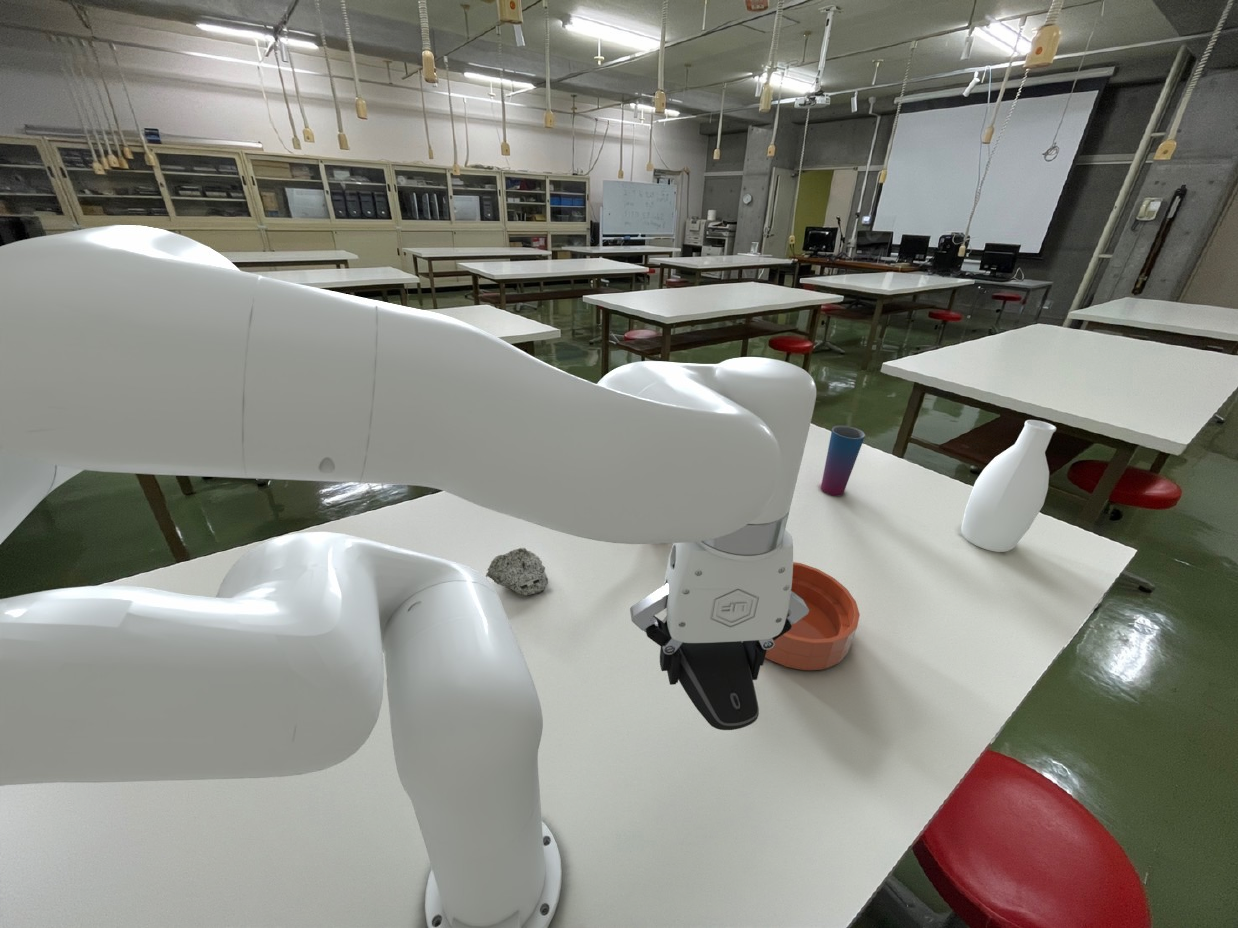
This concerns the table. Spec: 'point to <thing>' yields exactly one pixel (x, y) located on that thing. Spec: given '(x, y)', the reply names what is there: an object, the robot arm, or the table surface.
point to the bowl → (817, 623)
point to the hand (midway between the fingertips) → (709, 668)
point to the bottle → (1009, 491)
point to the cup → (841, 458)
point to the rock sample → (519, 571)
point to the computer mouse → (719, 683)
